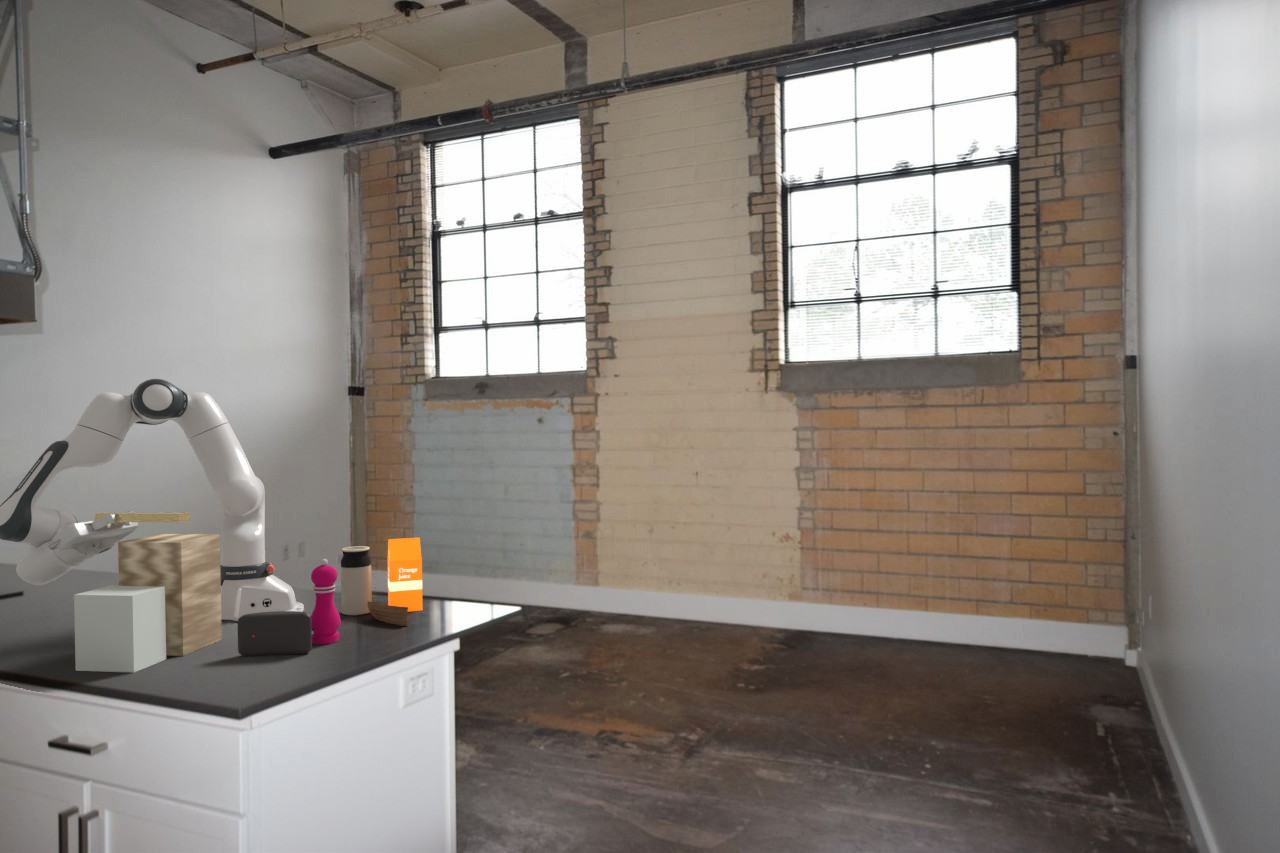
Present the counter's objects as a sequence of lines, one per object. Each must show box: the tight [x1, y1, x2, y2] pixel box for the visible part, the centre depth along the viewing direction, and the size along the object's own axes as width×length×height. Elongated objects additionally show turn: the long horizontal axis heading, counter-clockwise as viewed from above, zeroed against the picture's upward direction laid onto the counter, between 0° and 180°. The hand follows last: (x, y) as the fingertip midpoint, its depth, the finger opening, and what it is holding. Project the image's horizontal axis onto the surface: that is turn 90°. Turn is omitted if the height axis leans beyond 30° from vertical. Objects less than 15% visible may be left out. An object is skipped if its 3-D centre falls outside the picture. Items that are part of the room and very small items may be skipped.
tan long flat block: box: [94, 511, 191, 524], centre depth 204 cm, size 22×4×2 cm, turn 82°
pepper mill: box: [310, 558, 342, 645], centre depth 207 cm, size 7×7×20 cm
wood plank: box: [368, 601, 409, 627], centre depth 225 cm, size 15×2×5 cm, turn 56°
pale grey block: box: [73, 585, 167, 673], centre depth 189 cm, size 14×10×16 cm
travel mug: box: [340, 545, 373, 616], centre depth 237 cm, size 8×8×18 cm
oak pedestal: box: [117, 533, 223, 657], centre depth 203 cm, size 16×14×26 cm
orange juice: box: [387, 537, 423, 613], centre depth 241 cm, size 8×9×20 cm
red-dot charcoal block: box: [236, 611, 313, 657], centre depth 197 cm, size 16×5×9 cm, turn 96°
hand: (122, 515), depth 205 cm, fingers closed on tan long flat block, 4 cm apart
